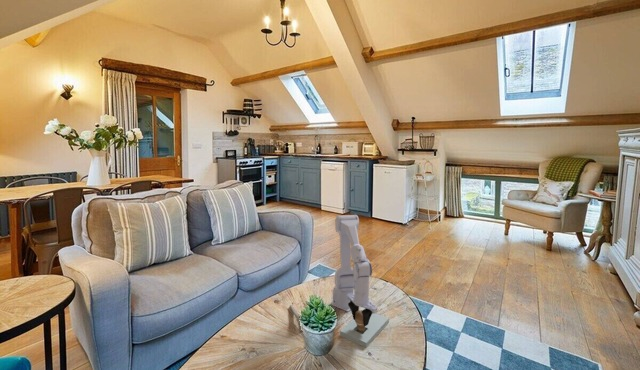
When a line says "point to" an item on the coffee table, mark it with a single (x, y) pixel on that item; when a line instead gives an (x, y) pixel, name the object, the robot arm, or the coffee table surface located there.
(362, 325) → the peg
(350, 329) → the board
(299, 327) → the caliper
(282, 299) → the coffee table surface
